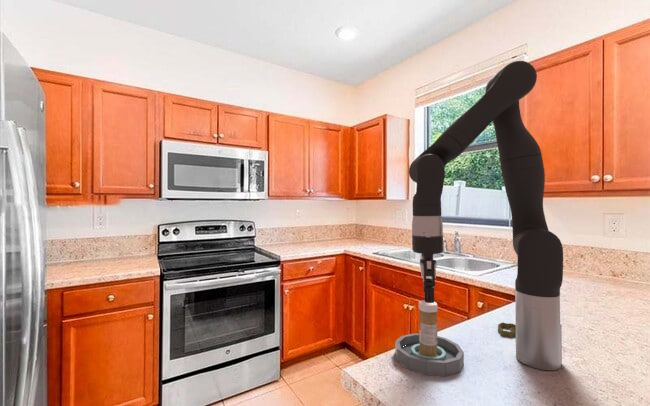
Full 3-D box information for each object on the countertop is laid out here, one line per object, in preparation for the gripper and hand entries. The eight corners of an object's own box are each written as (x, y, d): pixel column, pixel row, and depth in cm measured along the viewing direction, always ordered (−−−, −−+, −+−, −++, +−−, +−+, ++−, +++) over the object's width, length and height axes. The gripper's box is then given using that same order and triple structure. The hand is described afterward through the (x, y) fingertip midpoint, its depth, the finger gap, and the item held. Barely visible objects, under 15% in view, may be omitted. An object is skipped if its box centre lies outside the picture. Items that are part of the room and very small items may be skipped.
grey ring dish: (430, 340, 89) (430, 330, 89) (477, 367, 74) (477, 354, 74) (383, 350, 83) (383, 339, 83) (425, 381, 68) (425, 368, 68)
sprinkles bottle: (423, 349, 82) (423, 298, 82) (440, 355, 78) (440, 302, 79) (415, 355, 78) (415, 302, 78) (433, 361, 75) (432, 306, 75)
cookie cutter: (533, 348, 85) (533, 341, 85) (490, 333, 95) (490, 327, 95) (561, 334, 95) (561, 327, 95) (519, 321, 105) (519, 315, 105)
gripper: (412, 231, 87) (413, 289, 86) (411, 236, 73) (413, 304, 73) (440, 231, 84) (441, 291, 84) (445, 236, 71) (447, 307, 70)
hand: (428, 297), depth 78 cm, fingers open, 8 cm apart
